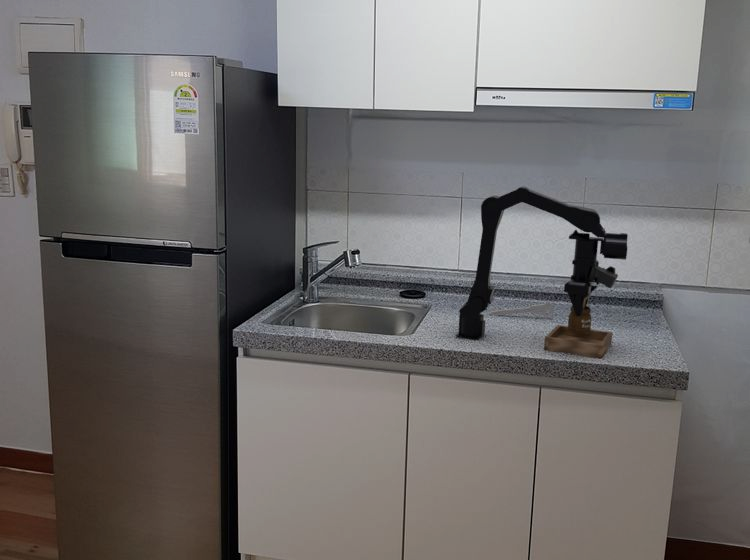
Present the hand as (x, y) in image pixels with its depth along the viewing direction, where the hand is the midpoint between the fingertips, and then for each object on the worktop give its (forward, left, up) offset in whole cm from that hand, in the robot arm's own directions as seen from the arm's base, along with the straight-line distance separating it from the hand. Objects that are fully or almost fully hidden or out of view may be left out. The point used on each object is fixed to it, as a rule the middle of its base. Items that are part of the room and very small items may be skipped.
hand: (580, 313), depth 196 cm
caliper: (-23, +25, -10) cm, 35 cm away
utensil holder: (0, 0, -5) cm, 5 cm away
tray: (0, 0, -9) cm, 9 cm away
